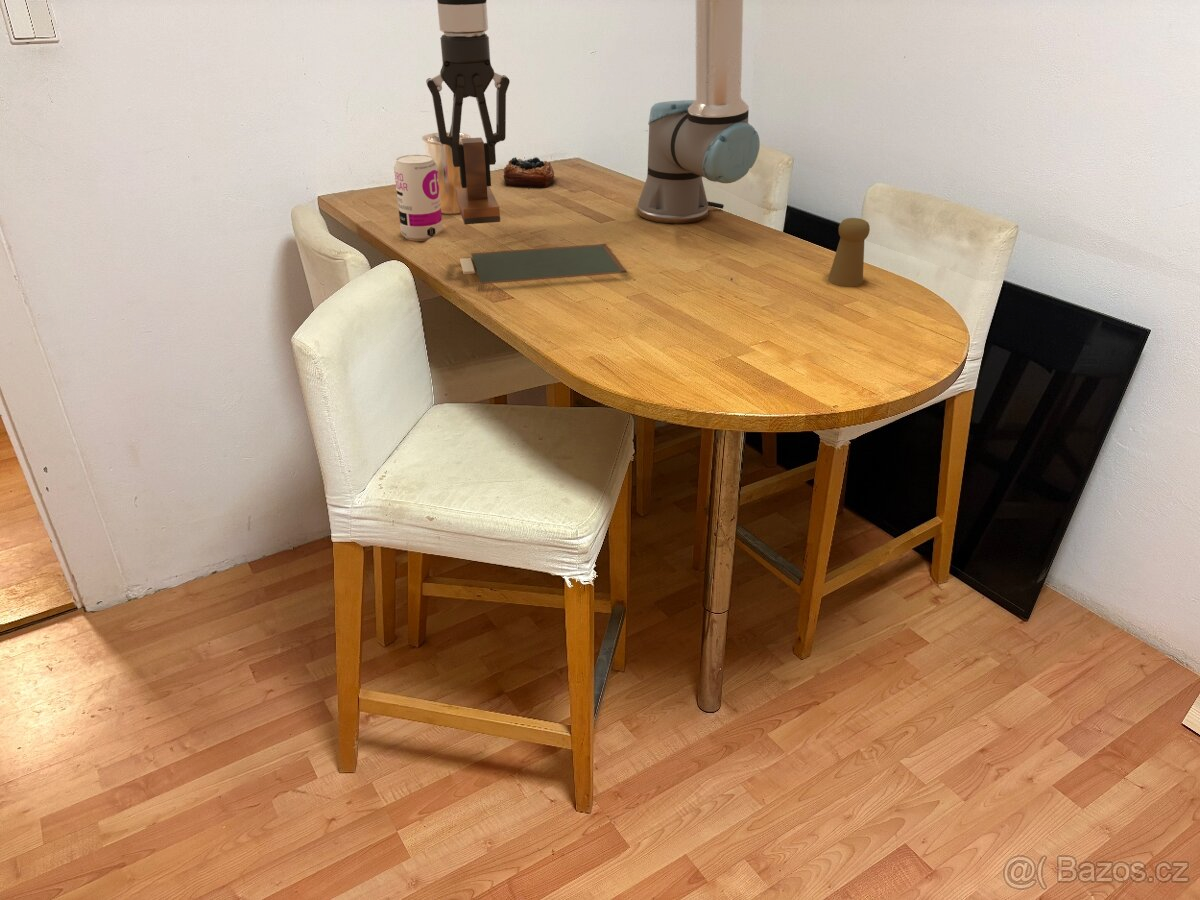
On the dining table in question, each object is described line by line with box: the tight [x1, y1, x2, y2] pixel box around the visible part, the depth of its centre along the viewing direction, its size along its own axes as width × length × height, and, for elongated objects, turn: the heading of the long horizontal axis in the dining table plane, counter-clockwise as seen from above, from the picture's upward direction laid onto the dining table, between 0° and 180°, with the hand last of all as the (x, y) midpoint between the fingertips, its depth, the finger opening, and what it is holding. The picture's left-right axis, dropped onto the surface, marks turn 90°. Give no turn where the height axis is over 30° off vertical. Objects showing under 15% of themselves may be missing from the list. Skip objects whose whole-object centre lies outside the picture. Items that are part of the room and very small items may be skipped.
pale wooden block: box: [459, 257, 476, 275], centre depth 155 cm, size 7×2×1 cm, turn 13°
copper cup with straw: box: [421, 122, 471, 215], centre depth 180 cm, size 11×11×30 cm
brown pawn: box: [827, 217, 871, 288], centre depth 152 cm, size 6×6×11 cm
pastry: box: [503, 156, 555, 189], centre depth 207 cm, size 11×12×6 cm
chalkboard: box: [470, 243, 628, 285], centre depth 158 cm, size 26×16×1 cm, turn 104°
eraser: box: [456, 137, 501, 226], centre depth 146 cm, size 6×13×12 cm, turn 14°
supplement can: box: [393, 154, 444, 242], centre depth 169 cm, size 8×8×15 cm
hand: (475, 184), depth 147 cm, fingers closed on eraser, 3 cm apart
